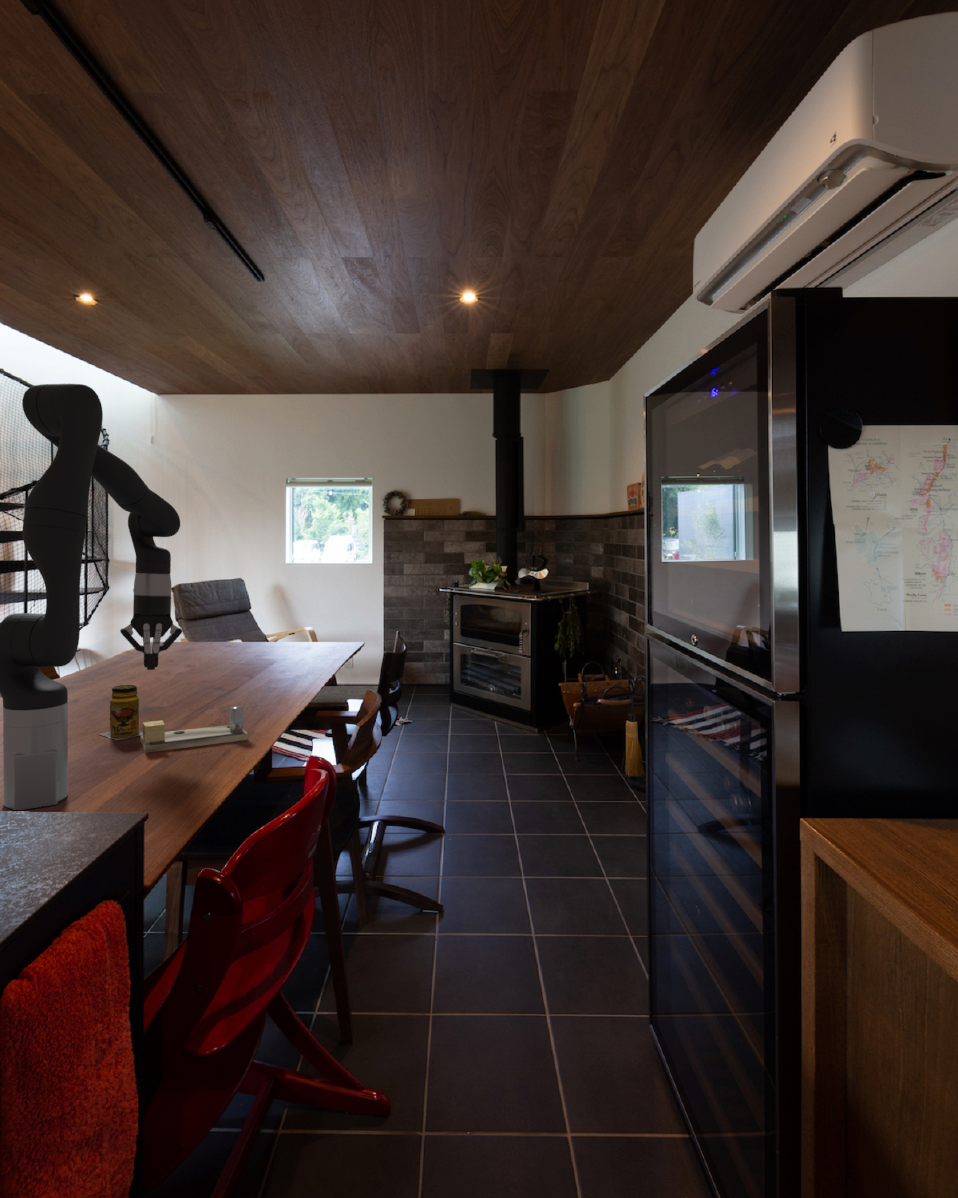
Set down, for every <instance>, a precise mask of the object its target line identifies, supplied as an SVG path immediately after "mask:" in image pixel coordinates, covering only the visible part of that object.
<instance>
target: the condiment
mask: <svg viewBox="0 0 958 1198" xmlns="http://www.w3.org/2000/svg"><path fill="white" fill-rule="evenodd" d="M137 694H138V687H137V686H136V685H133V684H122V685H116V686H114V687H112V688H111V698H110V700H109V730H110V731H107V732H103V733H98V735H100V736H103V737H106V738H108V739H111V740H115V741H120V740H126V739H130V738H131V739H132V738H136V737H138V736H141V735H143V731H141V730H140V723H139V722H140V720H139V719H140V714H139V713H140V702H139V701H140V700H139V696H138V695H137Z"/></svg>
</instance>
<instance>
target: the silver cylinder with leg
mask: <svg viewBox="0 0 958 1198" xmlns="http://www.w3.org/2000/svg"><path fill="white" fill-rule="evenodd" d="M229 725H230V733H241V732H243V729H244V706H242V705H241V706H240V705H235V706H230V708H229Z"/></svg>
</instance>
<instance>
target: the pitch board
mask: <svg viewBox="0 0 958 1198" xmlns="http://www.w3.org/2000/svg"><path fill="white" fill-rule="evenodd" d="M248 739H249V734H248V732H247V731H246V729H244V728H243V732H241V733H230V724H225V725H218V726H217V725H215V726H207V727H197V728H190V729H181V730H173V731H170V730H169V731H165V742H158V743H150V744H145V743H144V741H143V734H142V735H140V744H141V745H142V749H143V751H144V754H146V753H147V754H148V753H155V752H162V751H163V752H164V751H170V750H178V749H185V748H186V749H187V748H195V747H200V746H208V745H217V744H225V743H226V744H227V743H233V742H240V741H248Z"/></svg>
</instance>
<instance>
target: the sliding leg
mask: <svg viewBox="0 0 958 1198" xmlns="http://www.w3.org/2000/svg"><path fill="white" fill-rule="evenodd" d="M142 732H143V734H142V735H143V741H144V743H145V744H150V743H158V742H165V732H166V724H165V723H164V720H153V721H152V720H151V721H143V722H142Z"/></svg>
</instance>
